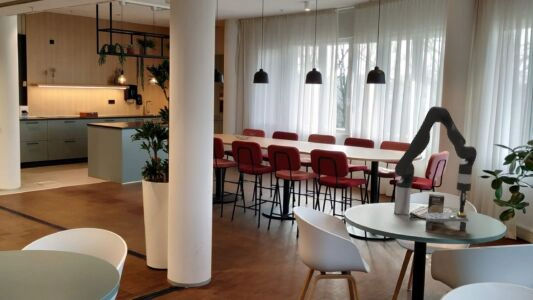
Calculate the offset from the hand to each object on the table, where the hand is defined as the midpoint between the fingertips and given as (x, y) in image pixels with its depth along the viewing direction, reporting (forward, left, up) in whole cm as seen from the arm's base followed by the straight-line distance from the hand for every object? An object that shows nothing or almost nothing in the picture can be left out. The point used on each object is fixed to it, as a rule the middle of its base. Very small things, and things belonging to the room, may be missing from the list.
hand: (461, 211), depth 307 cm
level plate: (-8, 0, -4) cm, 9 cm away
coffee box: (-14, +19, -12) cm, 26 cm away
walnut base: (-8, 0, -12) cm, 14 cm away
